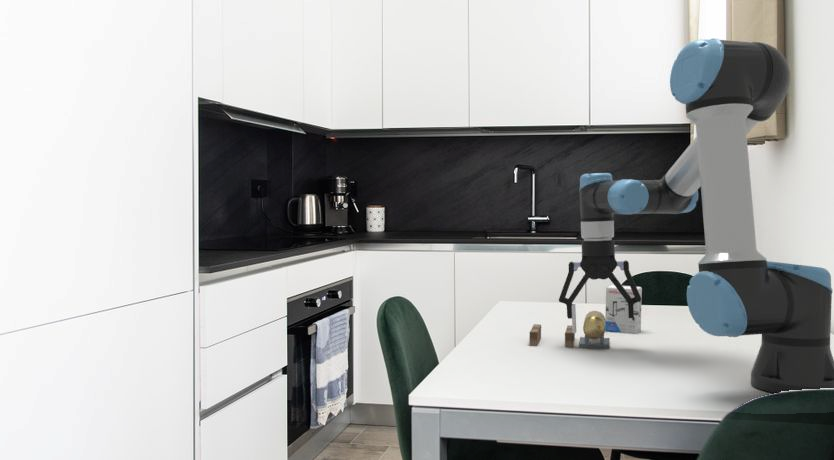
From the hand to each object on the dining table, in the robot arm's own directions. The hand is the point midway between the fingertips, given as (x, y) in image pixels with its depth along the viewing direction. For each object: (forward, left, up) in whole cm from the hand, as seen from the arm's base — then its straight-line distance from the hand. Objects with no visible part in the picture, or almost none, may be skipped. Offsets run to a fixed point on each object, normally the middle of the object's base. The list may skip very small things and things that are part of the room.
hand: (600, 332), depth 194 cm
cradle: (+3, +1, -4) cm, 5 cm away
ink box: (+25, -6, -4) cm, 26 cm away
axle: (+3, +1, +1) cm, 4 cm away
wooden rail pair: (+5, +11, -4) cm, 13 cm away
